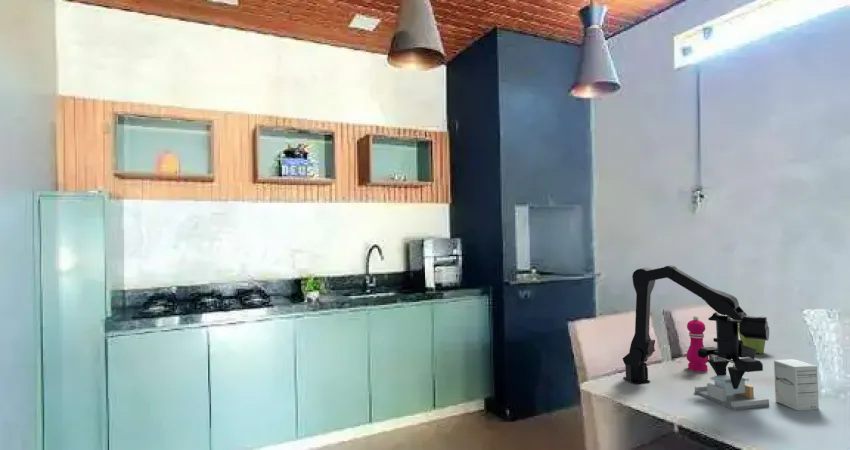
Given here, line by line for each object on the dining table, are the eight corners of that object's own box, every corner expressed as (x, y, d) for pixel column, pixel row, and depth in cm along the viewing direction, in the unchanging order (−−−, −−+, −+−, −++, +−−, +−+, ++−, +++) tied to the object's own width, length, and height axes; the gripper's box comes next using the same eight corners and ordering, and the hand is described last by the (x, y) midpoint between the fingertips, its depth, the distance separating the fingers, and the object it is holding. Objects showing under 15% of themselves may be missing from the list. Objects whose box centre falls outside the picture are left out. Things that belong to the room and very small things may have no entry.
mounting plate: (734, 410, 132) (733, 395, 132) (694, 392, 147) (694, 379, 147) (769, 406, 135) (768, 391, 135) (726, 389, 149) (726, 376, 149)
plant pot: (736, 347, 202) (735, 321, 202) (769, 350, 195) (768, 324, 196) (735, 353, 192) (734, 326, 193) (771, 356, 186) (769, 329, 186)
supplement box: (774, 401, 138) (772, 359, 138) (797, 400, 138) (795, 358, 139) (796, 411, 130) (794, 366, 131) (820, 409, 131) (818, 365, 131)
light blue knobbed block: (721, 395, 138) (720, 378, 138) (710, 390, 142) (710, 375, 142) (749, 392, 140) (748, 376, 140) (738, 388, 144) (737, 372, 144)
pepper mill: (712, 372, 168) (710, 317, 168) (690, 371, 169) (688, 317, 170) (704, 366, 175) (702, 314, 175) (683, 366, 176) (681, 314, 177)
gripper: (777, 340, 134) (780, 394, 133) (724, 328, 152) (726, 375, 152) (745, 343, 132) (747, 397, 131) (695, 330, 150) (697, 378, 150)
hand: (729, 386), depth 141 cm, fingers closed on light blue knobbed block, 4 cm apart
